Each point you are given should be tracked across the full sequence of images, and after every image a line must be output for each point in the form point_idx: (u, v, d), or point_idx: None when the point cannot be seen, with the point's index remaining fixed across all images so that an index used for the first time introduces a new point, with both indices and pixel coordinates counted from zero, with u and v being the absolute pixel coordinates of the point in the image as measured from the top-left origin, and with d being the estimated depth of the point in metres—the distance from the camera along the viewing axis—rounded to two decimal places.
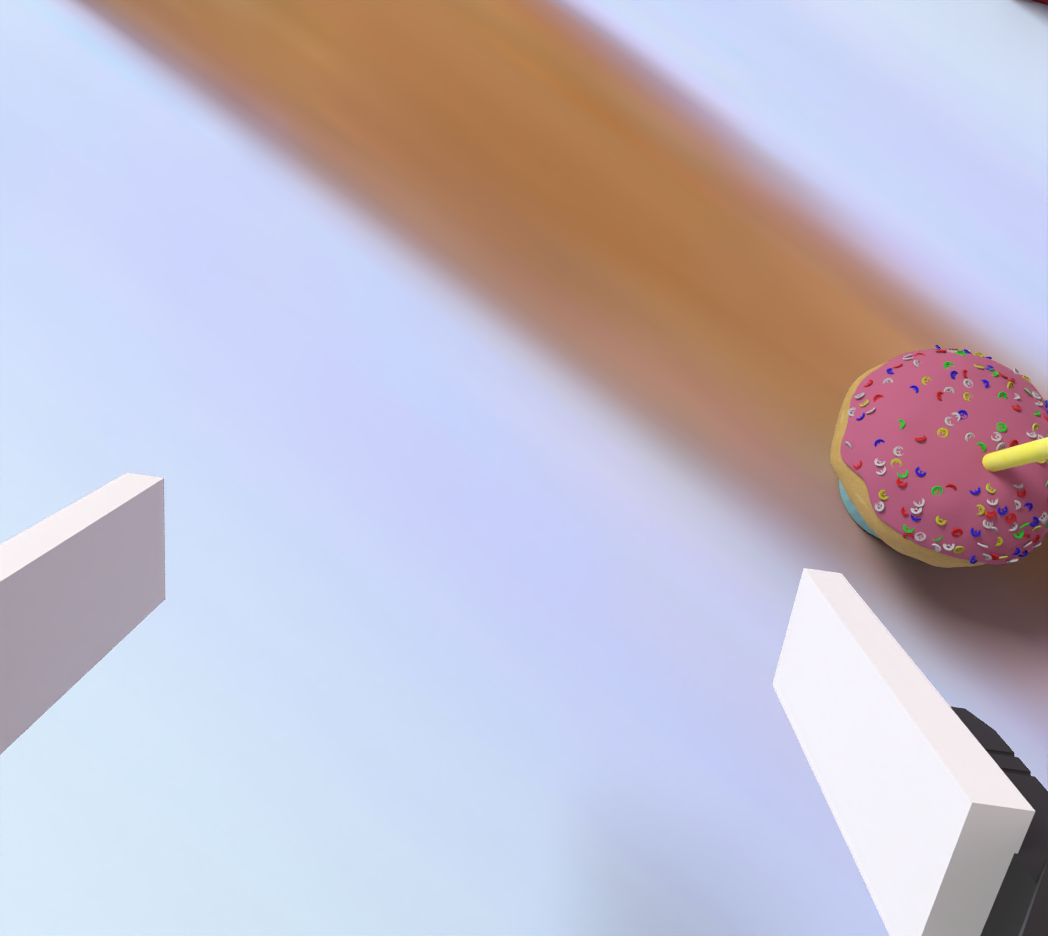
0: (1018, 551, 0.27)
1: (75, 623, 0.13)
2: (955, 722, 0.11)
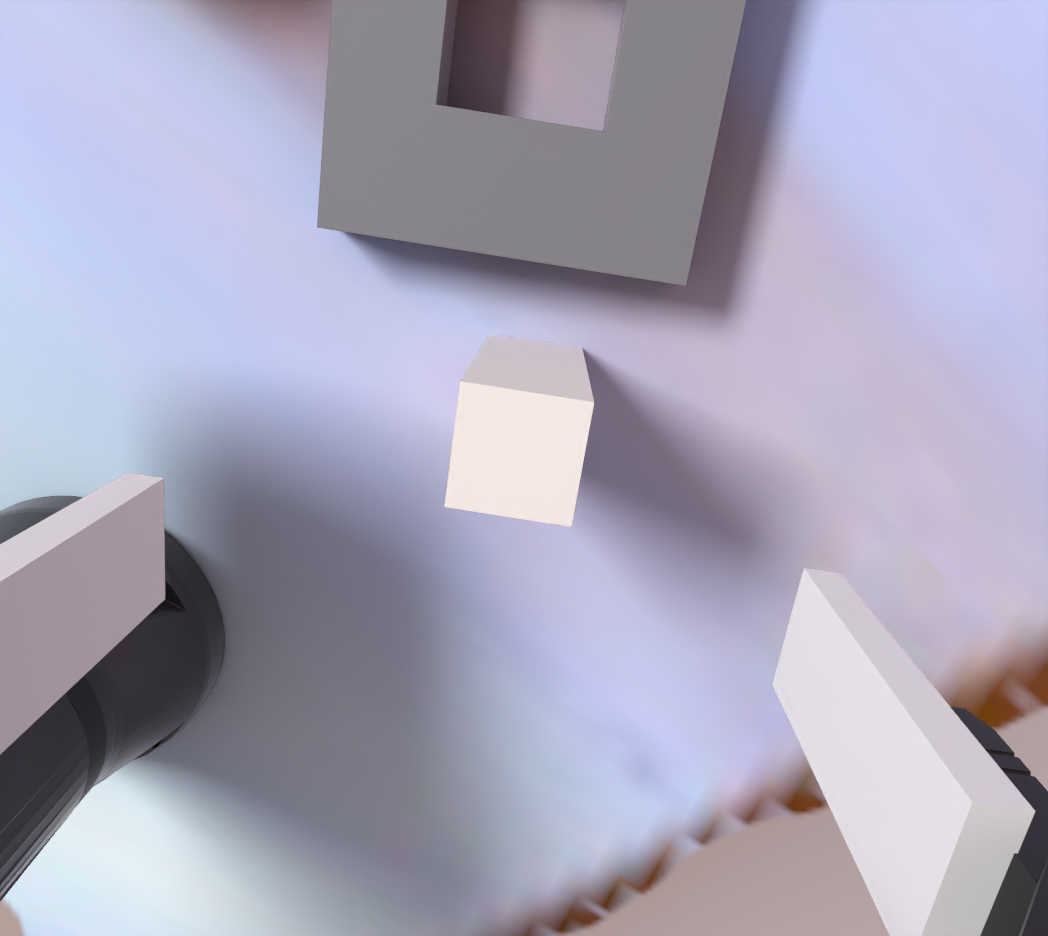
0: None
1: (75, 623, 0.13)
2: (955, 722, 0.11)
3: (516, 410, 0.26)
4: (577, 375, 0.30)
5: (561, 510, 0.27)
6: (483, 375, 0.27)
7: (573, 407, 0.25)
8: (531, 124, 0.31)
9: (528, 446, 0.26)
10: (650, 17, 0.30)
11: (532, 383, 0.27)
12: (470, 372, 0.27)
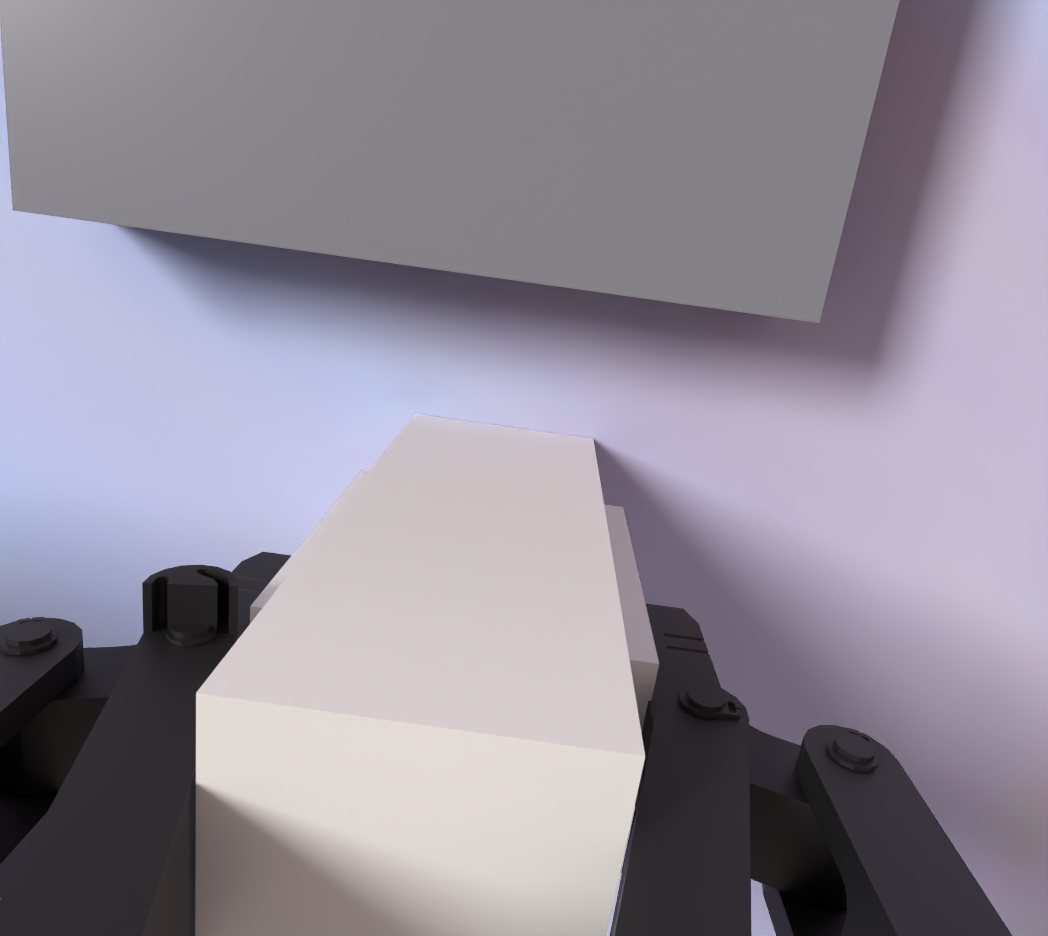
0: None
1: None
2: (640, 608, 0.13)
3: (389, 778, 0.08)
4: (585, 562, 0.12)
5: None
6: (307, 624, 0.09)
7: (576, 769, 0.08)
8: None
9: (432, 875, 0.08)
10: None
11: (453, 646, 0.09)
12: (273, 611, 0.09)
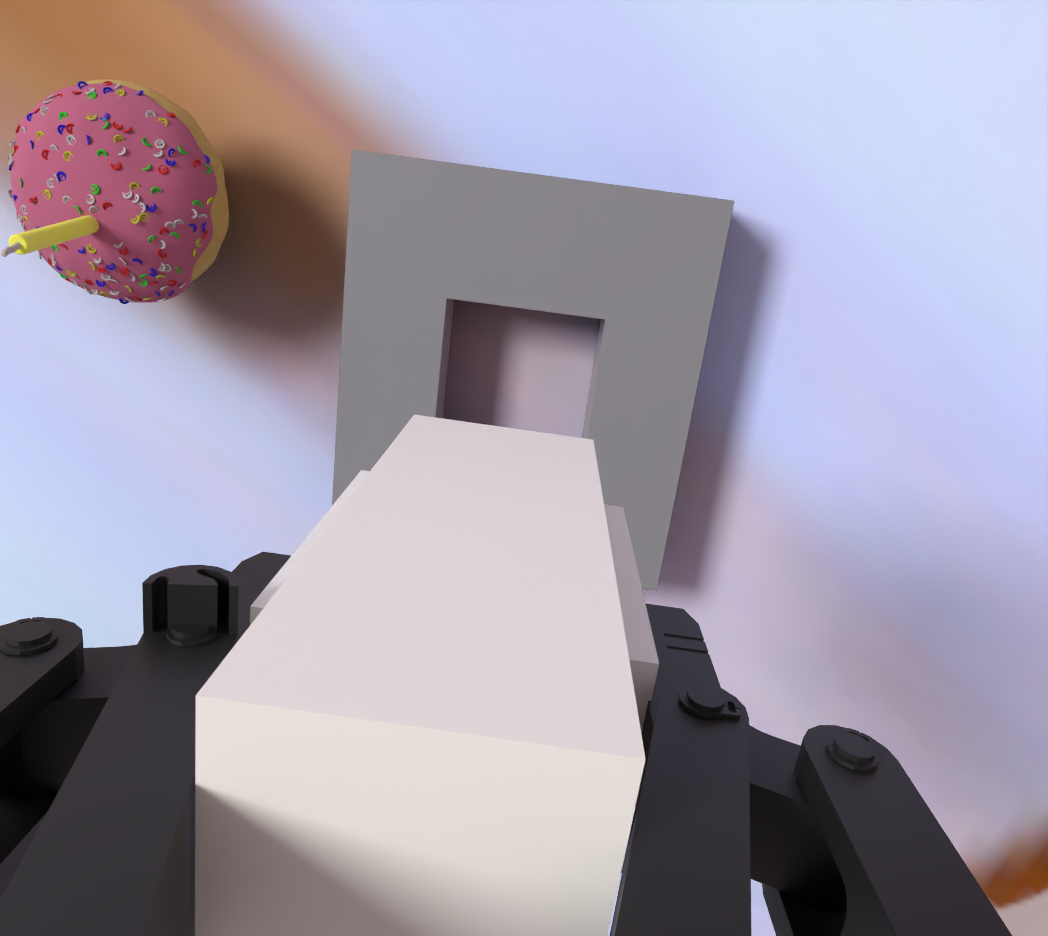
0: (158, 294, 0.32)
1: None
2: (640, 607, 0.13)
3: (389, 780, 0.08)
4: (585, 564, 0.12)
5: None
6: (307, 626, 0.09)
7: (576, 772, 0.08)
8: None
9: (432, 878, 0.08)
10: (617, 383, 0.34)
11: (453, 648, 0.09)
12: (273, 613, 0.09)
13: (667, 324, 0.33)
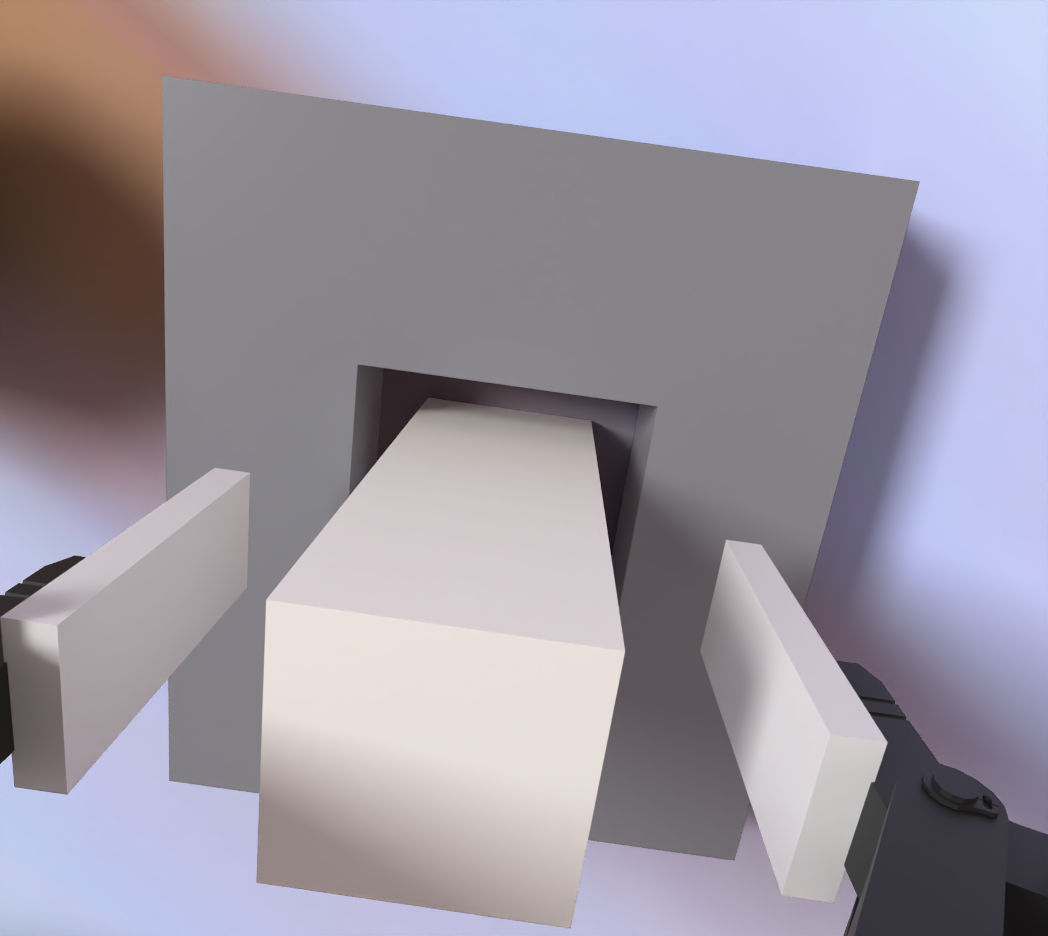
0: None
1: (182, 607, 0.14)
2: (835, 670, 0.12)
3: (420, 669, 0.10)
4: (581, 517, 0.14)
5: (544, 894, 0.11)
6: (349, 556, 0.11)
7: (570, 662, 0.10)
8: None
9: (453, 754, 0.10)
10: (677, 520, 0.18)
11: (469, 574, 0.11)
12: (320, 546, 0.11)
13: (774, 416, 0.18)
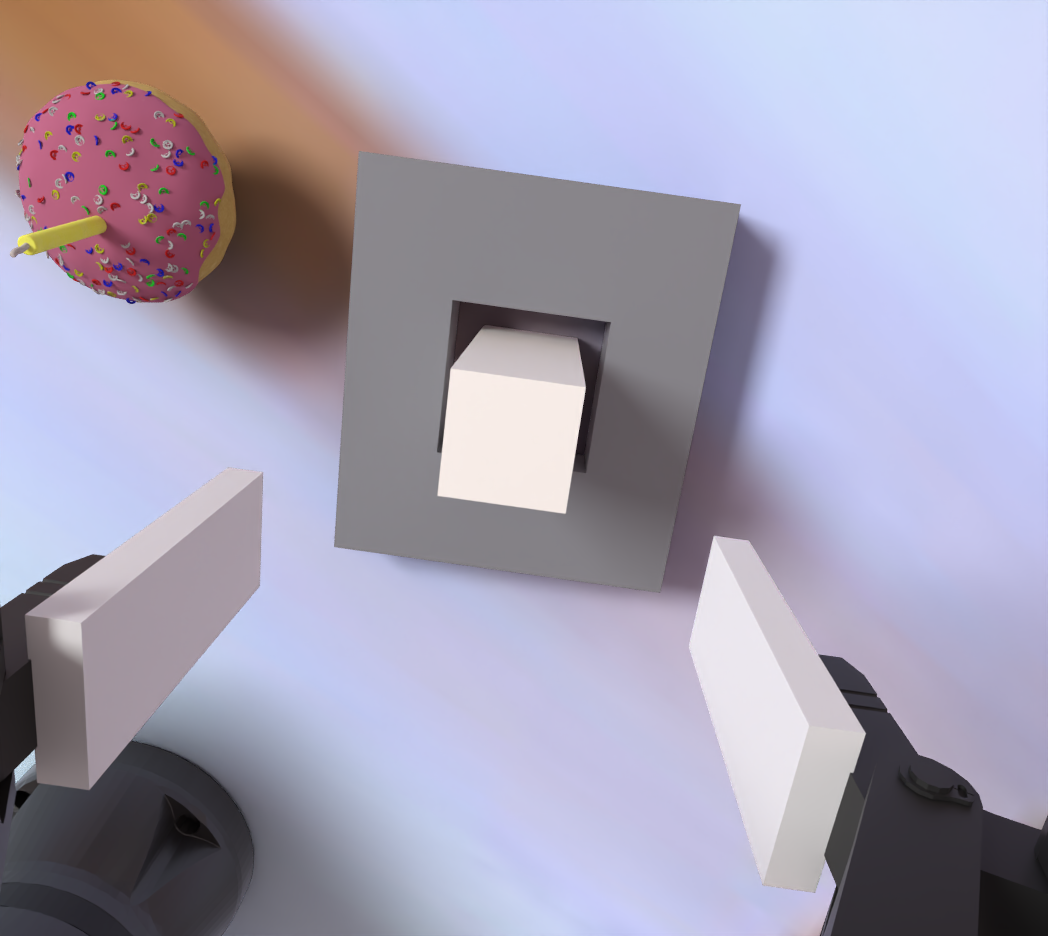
0: (165, 294, 0.32)
1: (198, 605, 0.14)
2: (816, 663, 0.12)
3: (508, 397, 0.25)
4: (570, 362, 0.29)
5: (555, 497, 0.26)
6: (474, 363, 0.27)
7: (565, 392, 0.25)
8: None
9: (520, 433, 0.26)
10: (623, 385, 0.34)
11: (524, 370, 0.27)
12: (461, 360, 0.27)
13: (673, 327, 0.33)
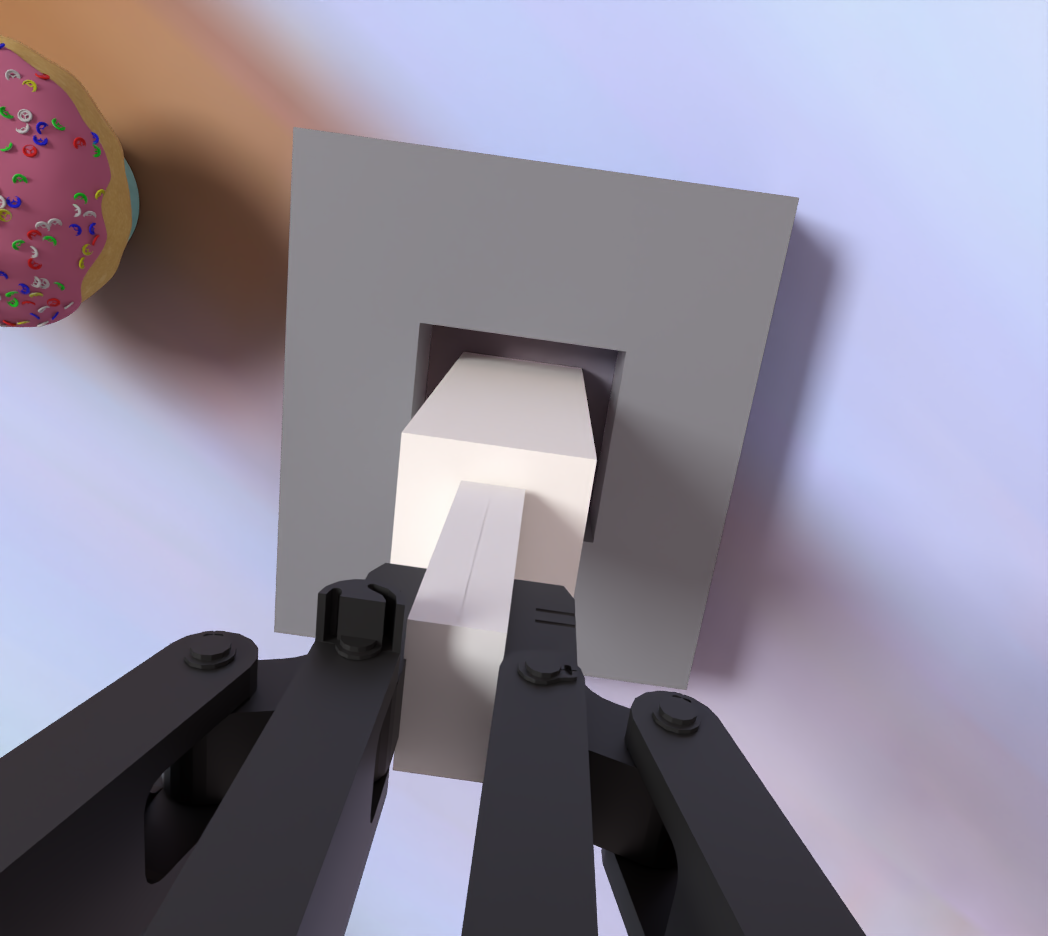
0: (36, 316, 0.24)
1: None
2: (507, 582, 0.13)
3: (484, 472, 0.18)
4: (573, 412, 0.22)
5: None
6: (439, 420, 0.19)
7: (567, 467, 0.18)
8: None
9: None
10: (641, 432, 0.26)
11: (508, 430, 0.19)
12: (421, 415, 0.19)
13: (707, 358, 0.26)
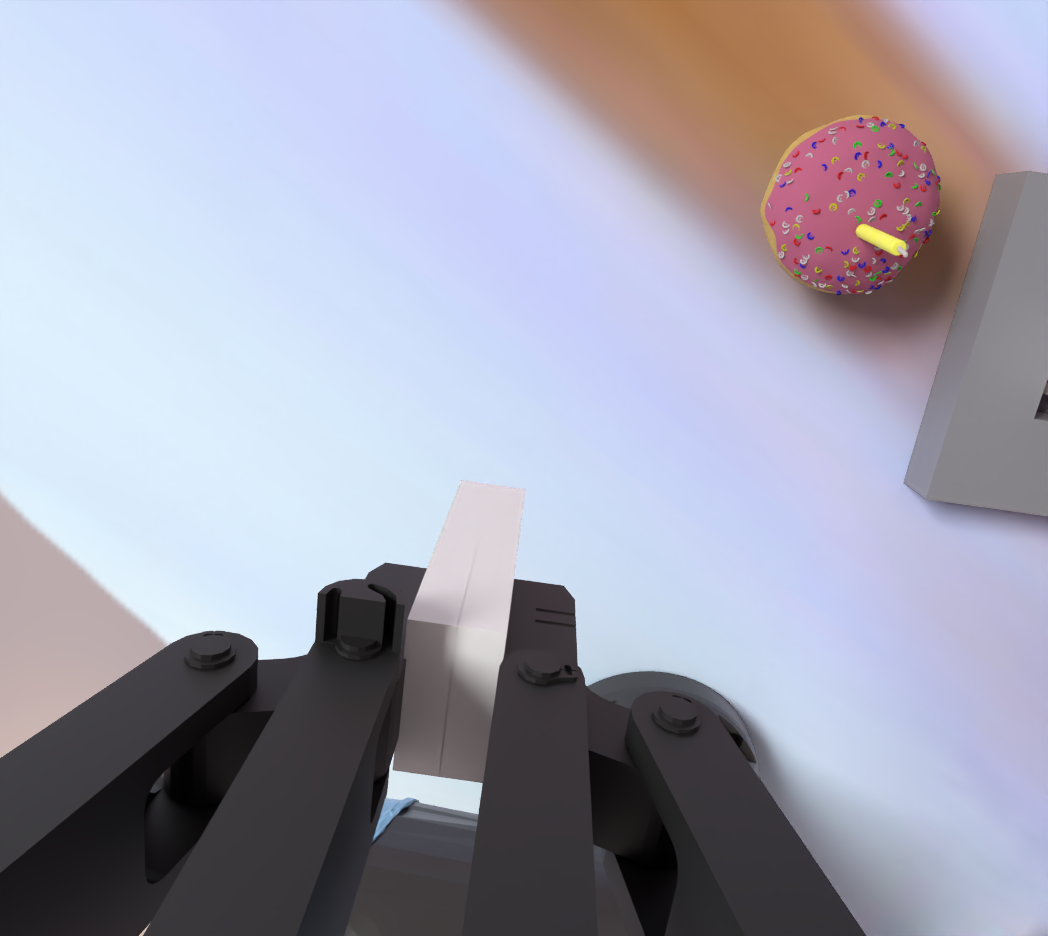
0: (872, 287, 0.39)
1: None
2: (507, 582, 0.13)
3: None
4: None
5: None
6: None
7: None
8: None
9: None
10: None
11: None
12: None
13: None
